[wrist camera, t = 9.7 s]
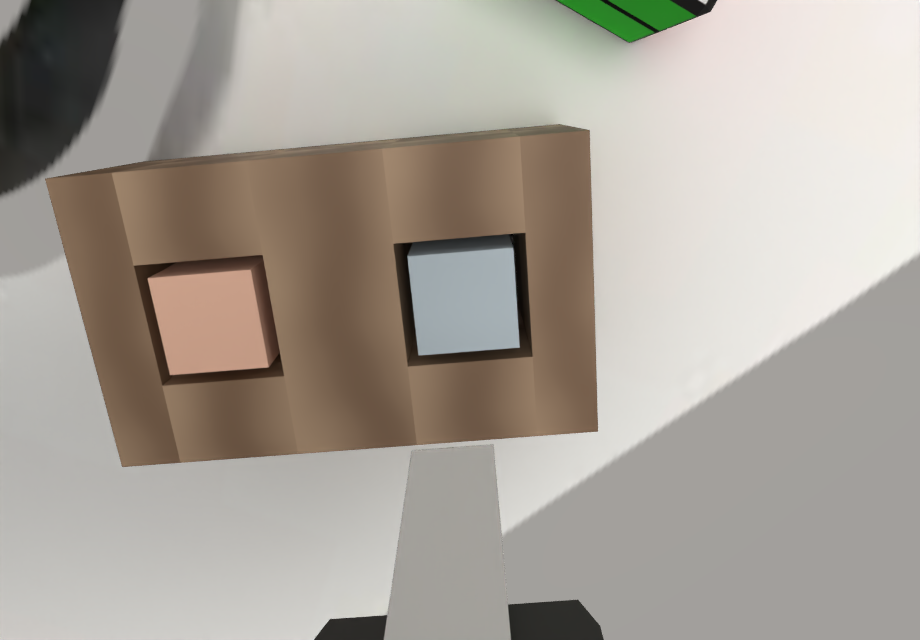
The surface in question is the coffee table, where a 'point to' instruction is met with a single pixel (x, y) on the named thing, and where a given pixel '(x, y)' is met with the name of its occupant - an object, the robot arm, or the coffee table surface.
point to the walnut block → (339, 292)
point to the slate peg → (464, 294)
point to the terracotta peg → (215, 315)
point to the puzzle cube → (639, 14)
